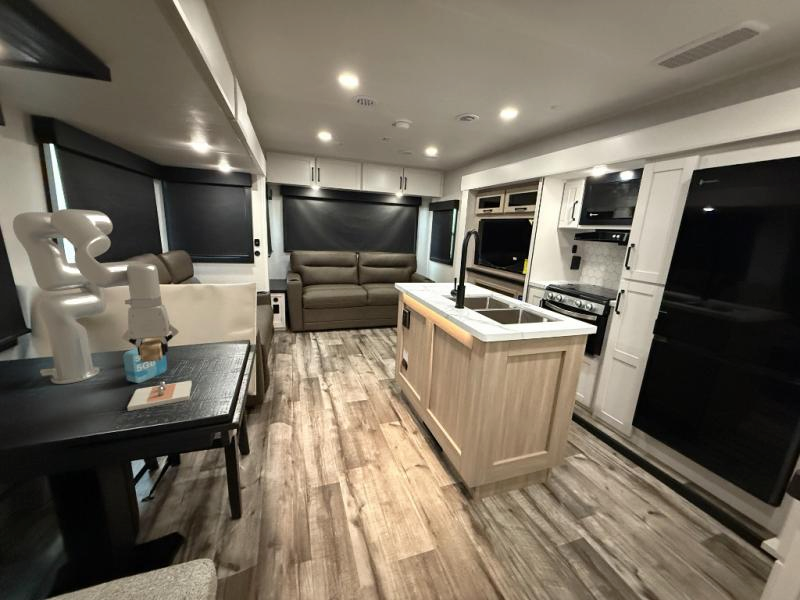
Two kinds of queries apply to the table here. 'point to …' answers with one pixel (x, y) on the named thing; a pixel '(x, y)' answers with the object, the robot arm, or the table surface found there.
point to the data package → (142, 367)
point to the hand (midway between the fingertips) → (154, 354)
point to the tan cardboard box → (151, 350)
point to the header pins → (161, 388)
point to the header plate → (151, 398)
